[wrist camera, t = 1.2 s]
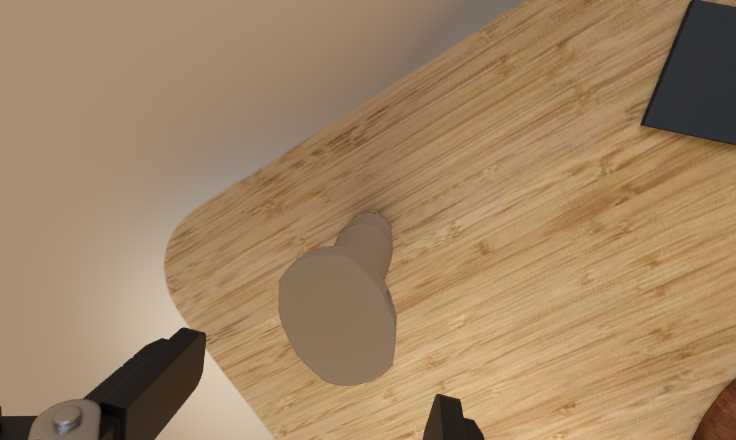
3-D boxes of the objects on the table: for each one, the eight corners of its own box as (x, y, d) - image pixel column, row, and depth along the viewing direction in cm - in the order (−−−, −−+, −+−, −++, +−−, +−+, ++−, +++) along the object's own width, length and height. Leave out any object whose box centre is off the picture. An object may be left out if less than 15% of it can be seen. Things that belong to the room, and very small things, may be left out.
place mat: (690, 0, 24) (694, -2, 24) (817, 25, 24) (824, 24, 24) (640, 124, 27) (643, 125, 26) (756, 149, 26) (761, 150, 26)
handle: (358, 270, 32) (314, 395, 18) (330, 201, 31) (258, 273, 16) (412, 254, 31) (413, 371, 17) (386, 181, 30) (361, 240, 15)
